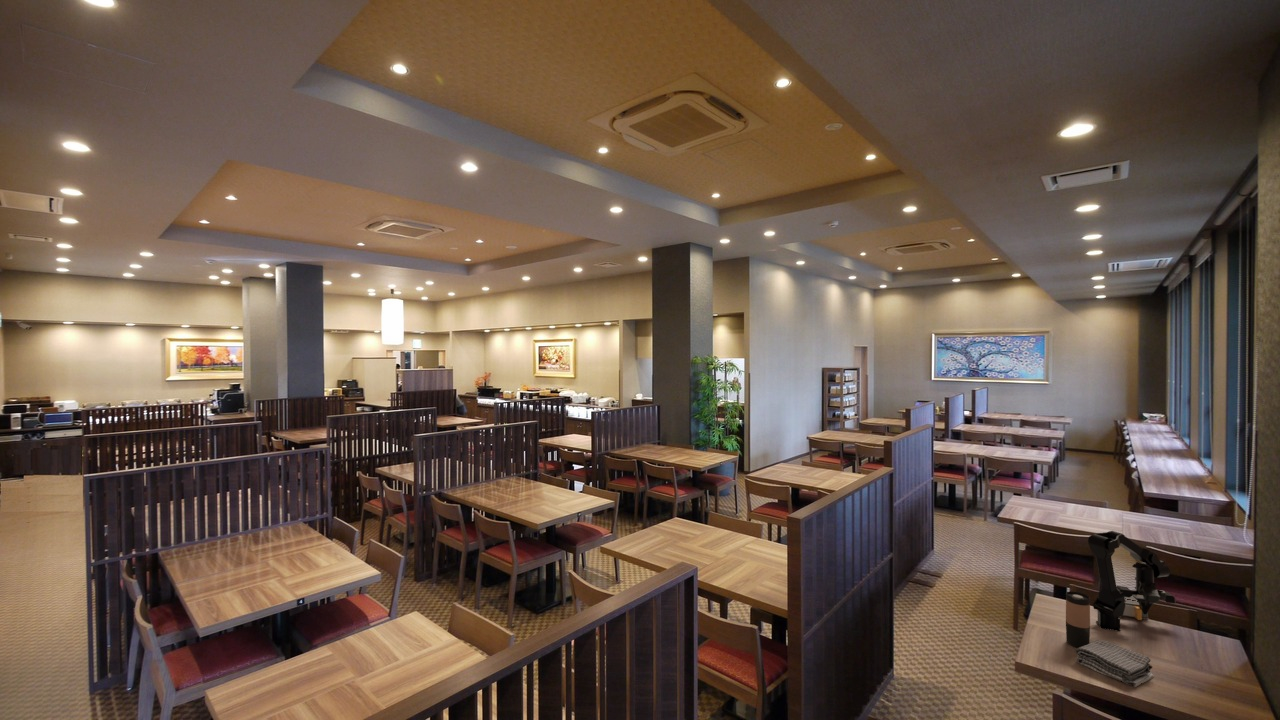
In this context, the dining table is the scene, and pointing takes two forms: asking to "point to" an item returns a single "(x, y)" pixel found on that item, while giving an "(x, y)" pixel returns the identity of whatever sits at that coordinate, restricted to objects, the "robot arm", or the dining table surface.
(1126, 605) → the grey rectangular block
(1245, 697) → the dining table surface
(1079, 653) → the towel
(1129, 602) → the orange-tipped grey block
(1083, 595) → the travel mug
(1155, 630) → the dining table surface
